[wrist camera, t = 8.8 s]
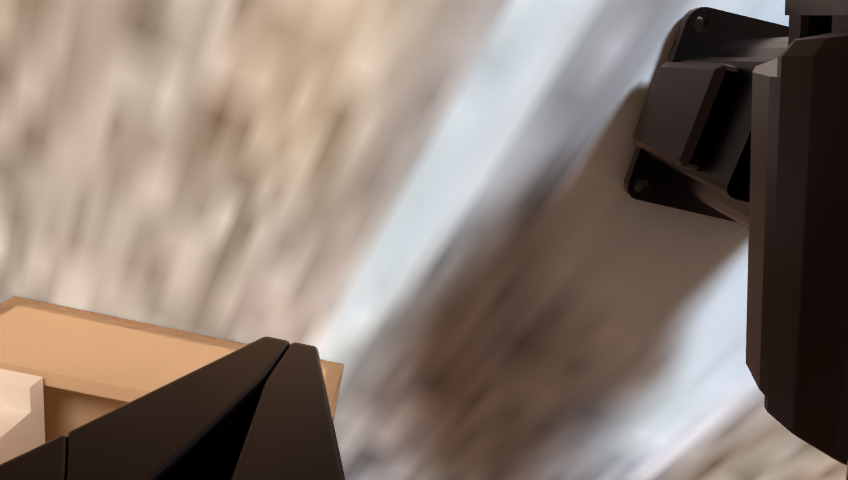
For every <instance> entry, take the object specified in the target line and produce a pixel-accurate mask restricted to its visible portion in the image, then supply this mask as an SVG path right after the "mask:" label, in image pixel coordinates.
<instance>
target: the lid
mask: <svg viewBox="0 0 848 480" xmlns="http://www.w3.org/2000/svg"><path fill="white" fill-rule="evenodd" d="M44 443H45V424H44V396H43V377H40V376H35V375H30V374H25V373H20V372H15V371H10V370H6V369H1V368H0V464H2V463H4V462H6V461H8V460H10V459H13V458H15V457H17V456H19V455H21V454H23V453H26V452H28V451H30V450H32V449H34V448H36V447H38V446H40V445H42V444H44Z"/></svg>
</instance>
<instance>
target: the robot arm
mask: <svg viewBox="0 0 848 480" xmlns="http://www.w3.org/2000/svg"><path fill="white" fill-rule="evenodd" d="M785 15H789V27H788V26H783V25H779V24H775V23H771V22H767V21H763V20H758V19H754V18H750V17H746V16H742V15H738V14H734V13H729V12H725V11H721V10H717V9H713V8H709V7H700V8H695V9H693V10H690V11H689V12H688V13H687V14H686V15H685V16H684V18H683V19H682V21H681V24H680V27H679V30H678V32H677V35H676V38H675V41H674V44H673V46H672V49H671V52H670V55H669V58H668V60H667V62H666V63H664V64H662V65H661V66H659V67H658V68H657V70H656V73H655V76H654V79H653V82H652V84H651V87H650V90H649V93H648V96H647V99H646V101H645V104H644V107H643V110H642V113H641V116H640V119H639V121H638V124H637V127H636V130H635V133H634V136H633V139H634V141H635V143H636V145H637V147H636V150H635V153H634V156H633V158H632V161H631V164H630V167H629V170H628V172H627V175H626V178H625V181H624V189H625V191H626V192H627V194H628V195H630V196H631V197H632V198H635V199H637V200H641V201H646V202H650V203H655V204H659V205H664V206H668V207H673V208H677V209H681V210H686V211H690V212H695V213H699V214H704V215H708V216H713V217H717V218H722V219H726V220H730V221H735V222H738V223H740V224H742V225H743V226H745V227H747V228H749V247H748V289H747V332H746V364H747V366H748V368H749V370H750V372H751V374H752V376H753V378H754V380H755V382H756V384H757V386H758V388H759V389H760V390H761V392H762V393H763V394H764V395H765V403H764V407H765V409H766V410H767V412H768V413H769V414H770V415H772V416H773V417H774V418H775V419H776V420H777V421H779V422H780V423H781V424H782V425H783V426H784V427H786V428H787V429H788V430H789V431H790V432H791V433H793V434H794V435H796V436H797V437H799V438H800V439H802V440H803V441H805V442H807V443H808V444H810V445H812V446H813V447H815V448H817V449H818V450H820V451H821V452H823V453H825V454H826V455H828V456H830V457H831V458H833V459H835V460H836V461H838V462H840V463H842V464H844V465H846V466H847V473H846V480H848V0H785ZM699 16H700V17H701V18H703V20H704V26H703V28H702V30H701V31H699V32H697V31H696V30H695V29H694V21H695V20H696V18H697V17H699ZM640 179H644V181H645V185H644V187H643V188H642V189H640V190H635V189H634V186H635V183H636V182H637V181H638V180H640ZM0 480H345V476H344V471H343V466H342V462H341V457H340V452H339V448H338V443H337V438H336V433H335V429H334V424H333V419H332V415H331V410H330V405H329V401H328V396H327V391H326V386H325V382H324V377H323V372H322V368H321V363H320V358H319V353H318V350H317V348H316V347H315V346H310V345H305V344H301V343H292V344H291V345H290V343H289V342H288V341H286V340H281V339H277V338H272V337H263V338H261V339H259V340H257V341H255V342H252V343H250V344H248V345H246V346H244V347H242V348H240V349H238V350H236V351H234V352H232V353H230V354H228V355H226V356H224V357H222V358H220V359H218V360H215V361H213V362H211V363H209V364H207V365H205V366H203V367H201V368H199V369H197V370H195V371H193V372H191V373H189V374H187V375H185V376H183V377H181V378H178V379H176V380H174V381H172V382H170V383H168V384H166V385H164V386H162V387H160V388H158V389H156V390H154V391H152V392H150V393H148V394H146V395H144V396H141V397H139V398H137V399H135V400H133V401H131V402H129V403H127V404H125V405H123V406H121V407H119V408H117V409H115V410H113V411H111V412H109V413H107V414H104V415H102V416H100V417H98V418H96V419H94V420H92V421H90V422H88V423H86V424H84V425H82V426H80V427H78V428H76V429H74V430H72V431H70V432H69V433H68V435H67V436H65V435H61V436H59V437H57V438H55V439H53V440H51V441H49V442H46V443H44V444H42V445H40V446H38V447H36V448H34V449H32V450H30V451H28V452H26V453H23V454H21V455H19V456H17V457H15V458H13V459H10V460H8V461H6V462H4V463H2V464H0Z"/></svg>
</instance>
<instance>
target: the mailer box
mask: <svg viewBox="0 0 848 480" xmlns="http://www.w3.org/2000/svg"><path fill="white" fill-rule="evenodd" d="M246 345H247V344H243V343H238V342H233V341H228V340H223V339H218V338H214V337H209V336H204V335H199V334H194V333H190V332H185V331H180V330H175V329H170V328H165V327H161V326H156V325H151V324H146V323H141V322H136V321H132V320H127V319H122V318H117V317H112V316H107V315H103V314H98V313H93V312H88V311H83V310H78V309H74V308H69V307H64V306H59V305H54V304H49V303H45V302H40V301H35V300H30V299H25V298H20V297H16V296H14V297H12V298H10V299H8V300H6V301H5V302H3V303H1V304H0V368H1V369H6V370H10V371H15V372H20V373H25V374H30V375H35V376H40V377H43V396H44V424H45V443H46V442H49V441H51V440H53V439H55V438H57V437H59V436H61V435H65V436H67V435H68V433H69V432H70V431H72V430H74V429H76V428H78V427H80V426H82V425H84V424H86V423H88V422H90V421H92V420H94V419H96V418H98V417H100V416H102V415H104V414H107V413H109V412H111V411H113V410H115V409H117V408H119V407H121V406H123V405H125V404H127V403H129V402H131V401H133V400H135V399H137V398H139V397H141V396H144V395H146V394H148V393H150V392H152V391H154V390H156V389H158V388H160V387H162V386H164V385H166V384H168V383H170V382H172V381H174V380H176V379H178V378H181V377H183V376H185V375H187V374H189V373H191V372H193V371H195V370H197V369H199V368H201V367H203V366H205V365H207V364H209V363H211V362H213V361H215V360H218V359H220V358H222V357H224V356H226V355H228V354H230V353H232V352H234V351H236V350H238V349H240V348H242V347H244V346H246ZM320 363H321V368H322V372H323V377H324V382H325V386H326V391H327V396H328V401H329V405H330V410H331V415H332V419H334V414H335V409H336V404H337V399H338V394H339V388H340V383H341V378H342V373H343V368H344V364H339V363H334V362H330V361H325V360H320Z"/></svg>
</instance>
